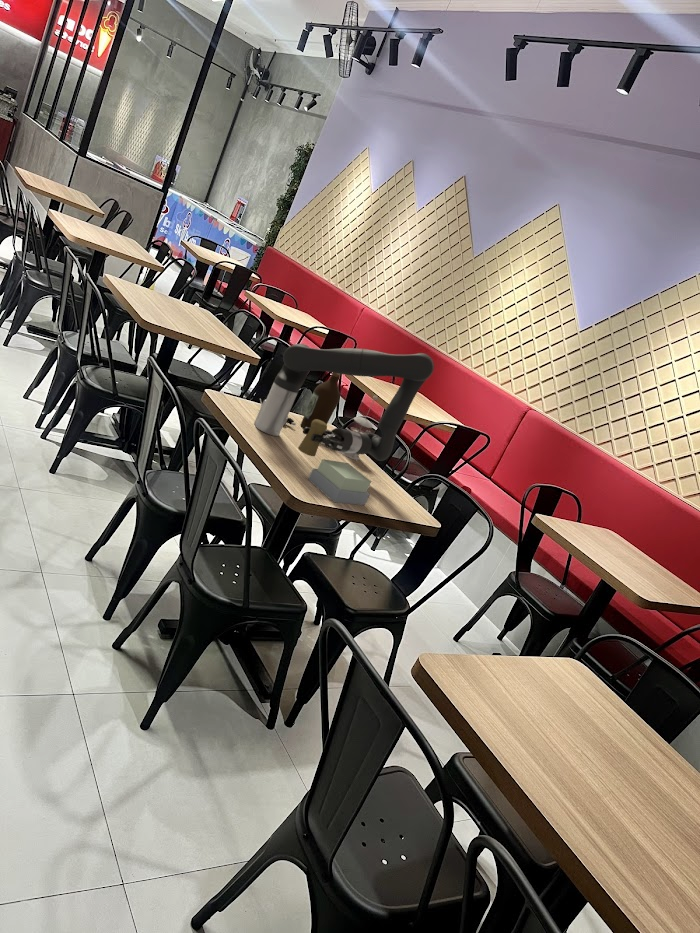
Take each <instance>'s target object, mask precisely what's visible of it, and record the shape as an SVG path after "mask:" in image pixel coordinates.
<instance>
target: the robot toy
mask: <svg viewBox="0 0 700 933" xmlns="http://www.w3.org/2000/svg"><path fill="white" fill-rule="evenodd" d="M259 401H260V407H261V406H262V404H263V401H262V399H261V398H259ZM286 423H288V424H289V425H292V426H296V425H297V424H296V422H295V420H294V419H293V418H291V417H289V415H288V416H287V418H286V421H285V423H284V425H286Z"/></svg>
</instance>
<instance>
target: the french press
mask: <svg viewBox="0 0 700 933" xmlns="http://www.w3.org/2000/svg"><path fill="white" fill-rule="evenodd" d="M372 399H373V400H372V403H371V405H370V407H369V409H368V410H367V411H368V412H367V414H366V415H365V417H362V416H355V417H353V421H354V422H356V423H357V424H358V425H361V426H360V428H359V429H358V428H357V427H353V426H352V427H350V429H349V430H350V431H354V432H356V433H360V434H368V433H372V431H371V430H368V429H373V428H374V426H373V424H372V422H370V421H369V420H368V419H367V418H368V414H369V412H370V410H371V408H372V406H373V404H374V401H375V400H378V395H373V397H372ZM362 427H364V428H368V429H367V430H365V432H364V431H363V430H361V429H362ZM338 452H339V453H340V454H342V455H343V456H345V457H347V458H350V460H351V459H352V460H355V459H356V461H360V460H361V458H360V454H355V453H345V452H340V451H338Z"/></svg>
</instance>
